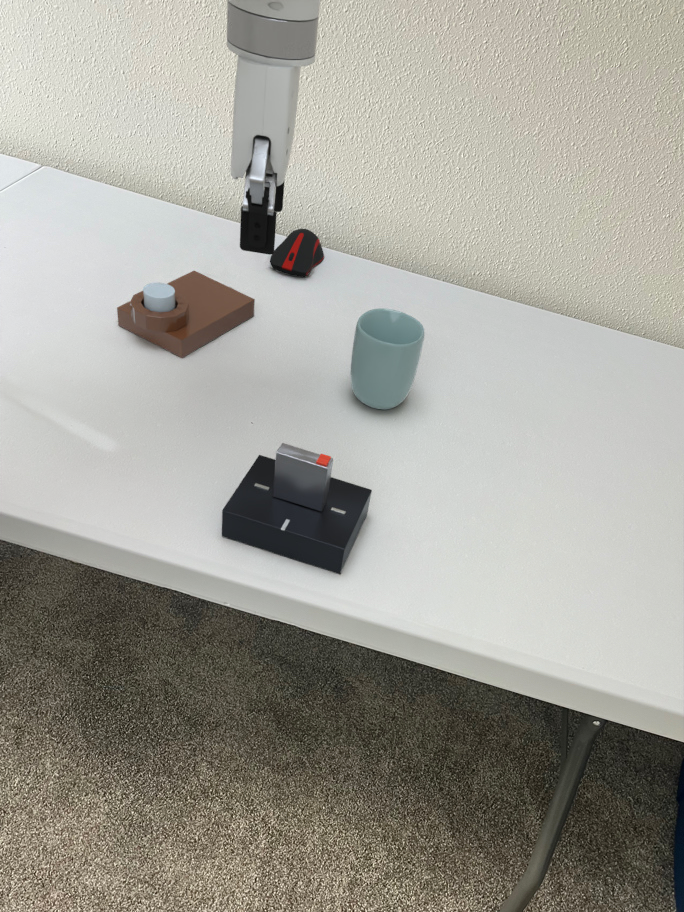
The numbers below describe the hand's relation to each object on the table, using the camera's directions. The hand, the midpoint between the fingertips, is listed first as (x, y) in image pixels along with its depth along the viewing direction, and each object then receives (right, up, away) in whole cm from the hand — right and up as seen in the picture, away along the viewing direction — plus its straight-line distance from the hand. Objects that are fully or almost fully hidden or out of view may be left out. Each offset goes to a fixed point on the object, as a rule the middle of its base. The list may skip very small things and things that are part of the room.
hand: (262, 229), depth 78 cm
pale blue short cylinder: (-15, -3, +15) cm, 22 cm away
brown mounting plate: (-13, -3, +22) cm, 26 cm away
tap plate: (+4, -30, 0) cm, 30 cm away
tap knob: (+4, -27, -3) cm, 28 cm away
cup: (+11, -14, +17) cm, 25 cm away
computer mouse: (-2, +10, +38) cm, 39 cm away
